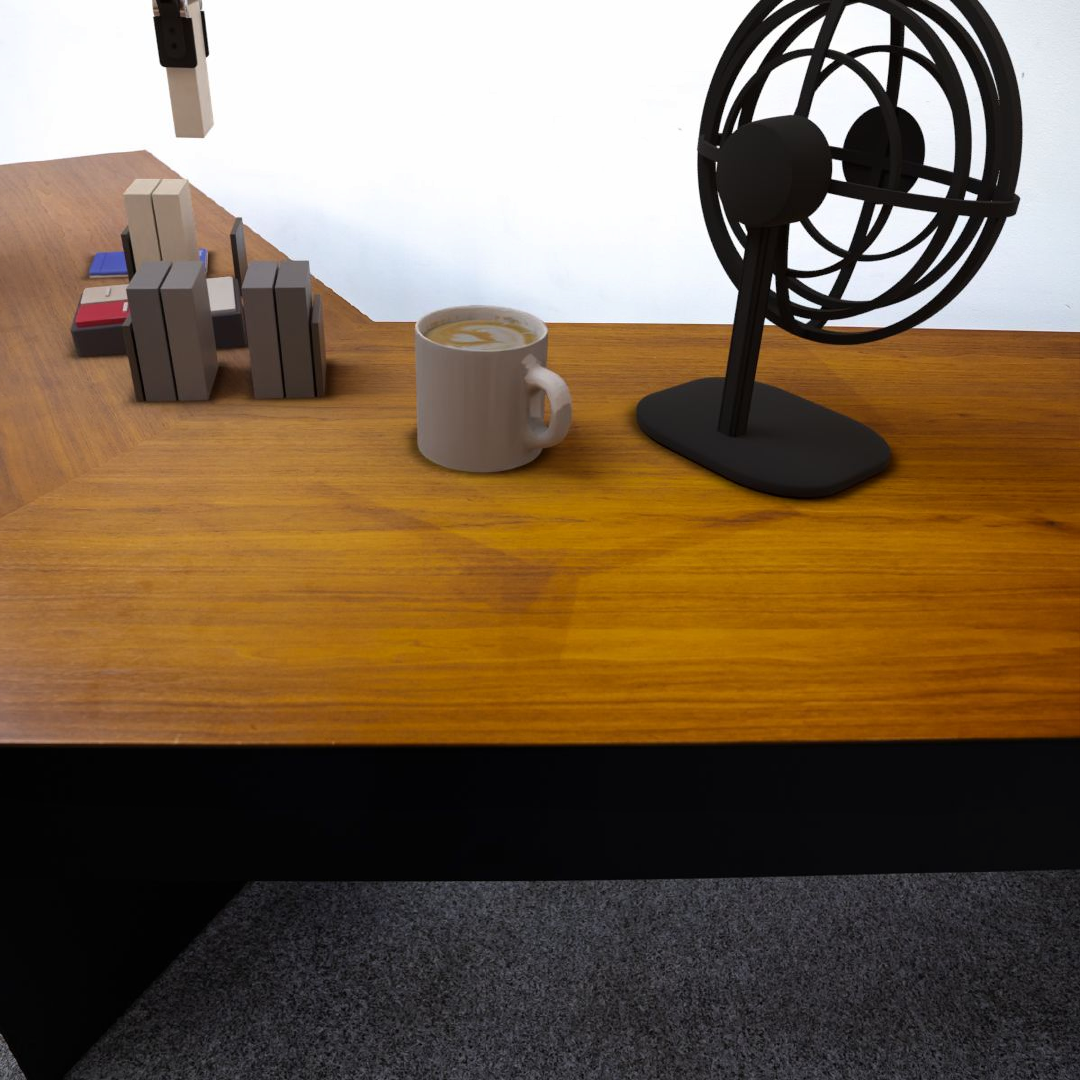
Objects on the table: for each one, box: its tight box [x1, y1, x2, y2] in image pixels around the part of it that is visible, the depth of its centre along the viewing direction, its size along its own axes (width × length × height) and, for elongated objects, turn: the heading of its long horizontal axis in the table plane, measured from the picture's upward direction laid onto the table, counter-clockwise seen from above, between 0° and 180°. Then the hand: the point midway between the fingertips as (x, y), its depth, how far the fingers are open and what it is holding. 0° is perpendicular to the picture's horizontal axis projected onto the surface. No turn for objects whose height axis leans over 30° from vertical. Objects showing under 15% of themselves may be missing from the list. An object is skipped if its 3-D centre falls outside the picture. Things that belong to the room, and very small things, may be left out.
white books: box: [120, 178, 249, 297], centre depth 105 cm, size 11×7×11 cm, turn 99°
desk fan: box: [635, 0, 1024, 498], centre depth 72 cm, size 27×18×35 cm, turn 40°
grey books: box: [122, 260, 327, 403], centre depth 84 cm, size 15×8×10 cm, turn 99°
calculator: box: [70, 276, 248, 358], centre depth 95 cm, size 11×4×15 cm
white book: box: [165, 0, 215, 139], centre depth 92 cm, size 3×7×11 cm, turn 8°
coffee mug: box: [414, 304, 573, 473], centre depth 75 cm, size 13×10×10 cm
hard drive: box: [88, 248, 209, 279], centre depth 113 cm, size 2×8×12 cm
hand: (185, 60), depth 92 cm, fingers closed on white book, 7 cm apart
